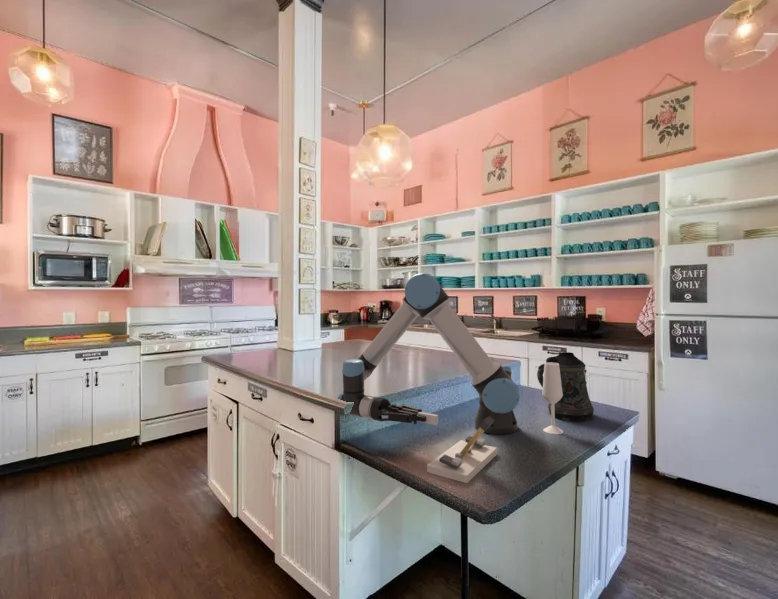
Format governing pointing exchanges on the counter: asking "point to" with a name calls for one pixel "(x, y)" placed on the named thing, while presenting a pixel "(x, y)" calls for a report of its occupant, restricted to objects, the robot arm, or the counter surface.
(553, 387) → the champagne flute
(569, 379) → the beer stein
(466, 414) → the counter surface
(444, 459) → the block
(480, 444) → the block
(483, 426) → the brass lever
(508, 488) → the counter surface
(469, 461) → the switch panel
